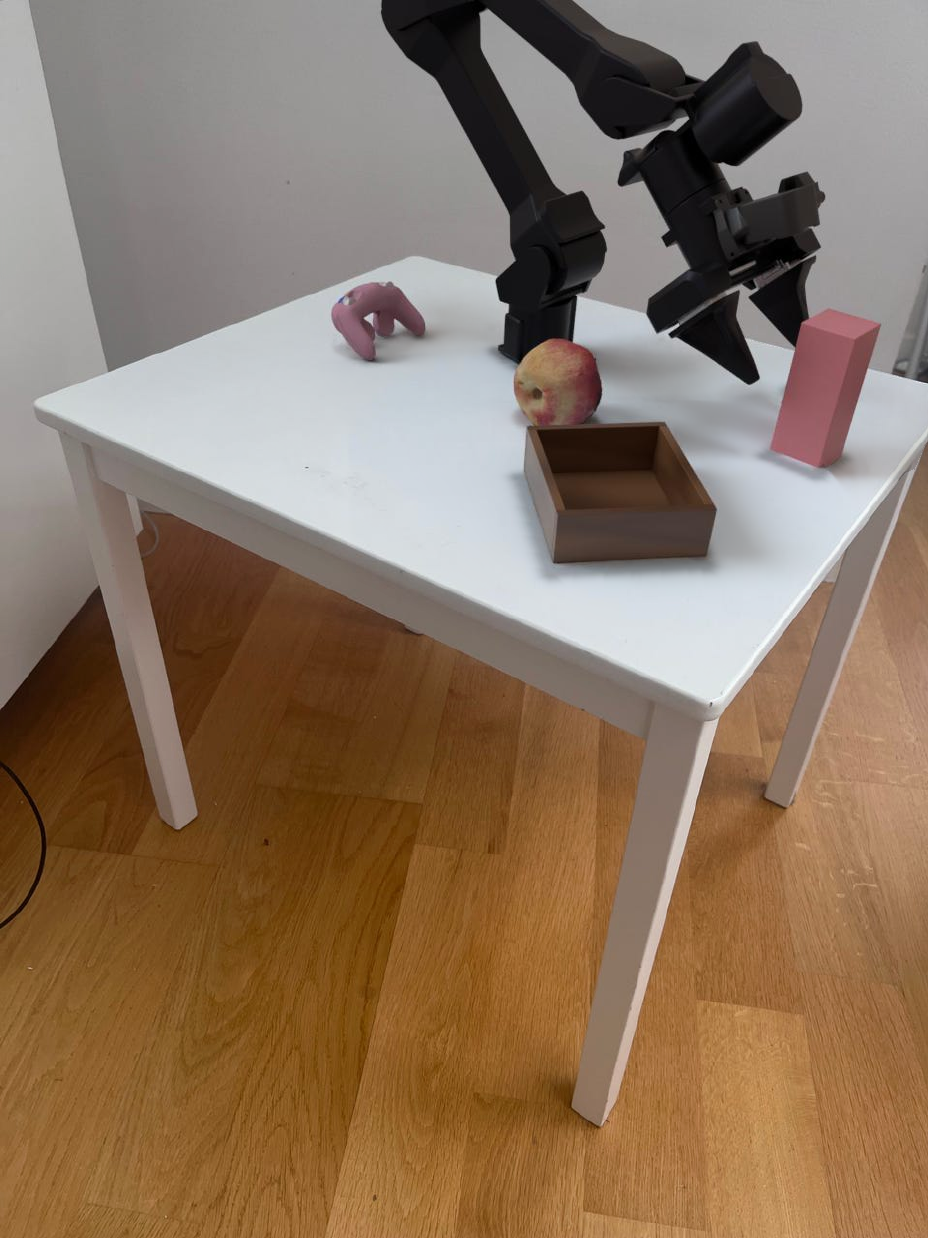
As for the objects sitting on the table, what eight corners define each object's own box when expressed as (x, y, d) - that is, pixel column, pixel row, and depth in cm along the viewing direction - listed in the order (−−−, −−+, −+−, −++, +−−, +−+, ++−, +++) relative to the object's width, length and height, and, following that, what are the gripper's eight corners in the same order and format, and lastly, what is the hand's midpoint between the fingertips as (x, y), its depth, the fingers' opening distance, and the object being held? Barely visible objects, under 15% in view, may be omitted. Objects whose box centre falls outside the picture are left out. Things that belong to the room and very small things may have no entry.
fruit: (502, 412, 88) (506, 328, 83) (580, 405, 89) (589, 322, 84) (527, 452, 82) (533, 364, 77) (610, 443, 83) (621, 357, 78)
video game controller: (402, 340, 104) (379, 277, 102) (432, 331, 101) (408, 265, 99) (343, 369, 98) (316, 302, 96) (372, 360, 95) (345, 291, 92)
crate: (522, 478, 78) (526, 425, 75) (656, 473, 79) (664, 421, 76) (552, 571, 68) (557, 515, 65) (705, 564, 69) (717, 508, 66)
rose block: (767, 456, 82) (801, 322, 75) (793, 439, 85) (828, 307, 77) (816, 475, 80) (856, 338, 72) (841, 457, 82) (882, 323, 75)
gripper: (706, 157, 67) (808, 352, 68) (828, 122, 78) (915, 291, 79) (604, 244, 76) (695, 415, 77) (726, 202, 87) (805, 353, 88)
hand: (782, 366), depth 80 cm, fingers open, 9 cm apart
